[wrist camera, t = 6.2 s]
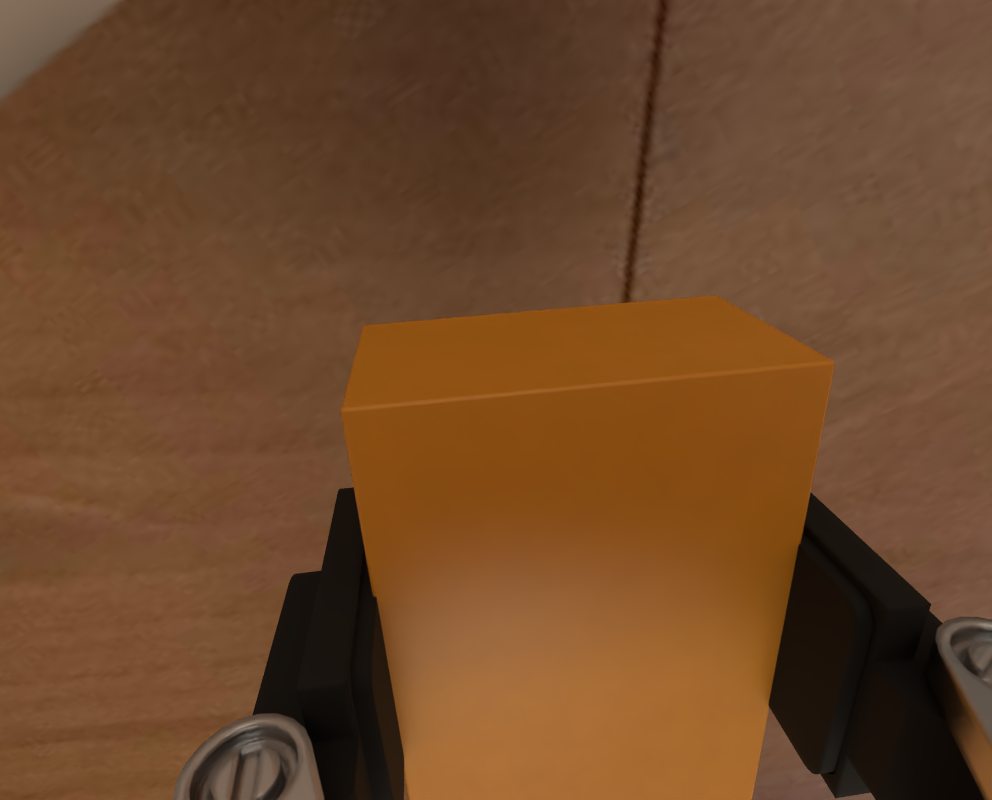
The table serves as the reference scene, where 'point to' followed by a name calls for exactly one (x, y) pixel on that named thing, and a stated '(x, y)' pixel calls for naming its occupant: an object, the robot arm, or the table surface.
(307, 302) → the table surface
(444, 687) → the block
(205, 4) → the table surface
